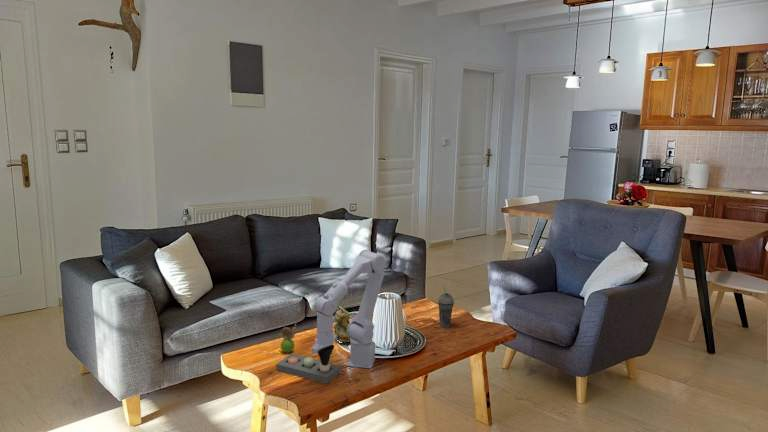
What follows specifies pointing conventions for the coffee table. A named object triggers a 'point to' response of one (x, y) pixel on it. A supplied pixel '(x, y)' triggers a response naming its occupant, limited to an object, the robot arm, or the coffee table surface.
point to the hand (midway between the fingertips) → (324, 364)
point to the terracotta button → (293, 360)
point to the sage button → (308, 362)
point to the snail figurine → (288, 339)
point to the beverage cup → (445, 309)
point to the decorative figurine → (342, 324)
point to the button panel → (306, 372)
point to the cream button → (325, 368)
